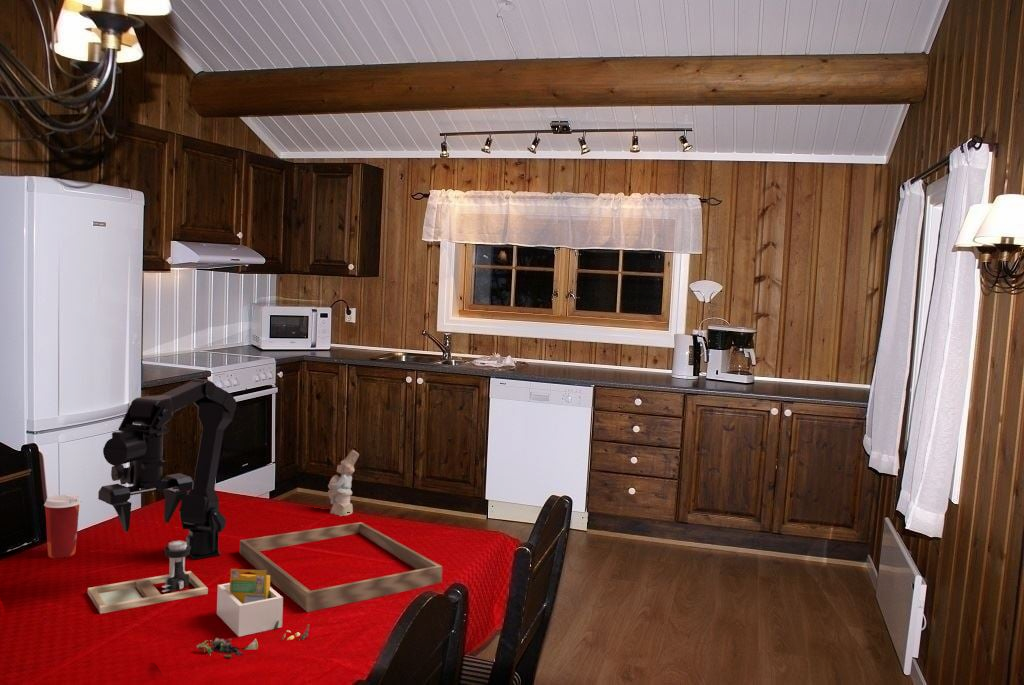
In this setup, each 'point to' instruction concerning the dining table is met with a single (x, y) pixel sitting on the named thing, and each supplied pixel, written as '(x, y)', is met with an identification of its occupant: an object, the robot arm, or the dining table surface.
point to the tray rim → (344, 593)
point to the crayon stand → (249, 612)
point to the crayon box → (249, 585)
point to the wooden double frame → (128, 597)
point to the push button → (177, 565)
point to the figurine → (342, 486)
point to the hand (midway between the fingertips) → (146, 526)
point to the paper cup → (62, 525)
